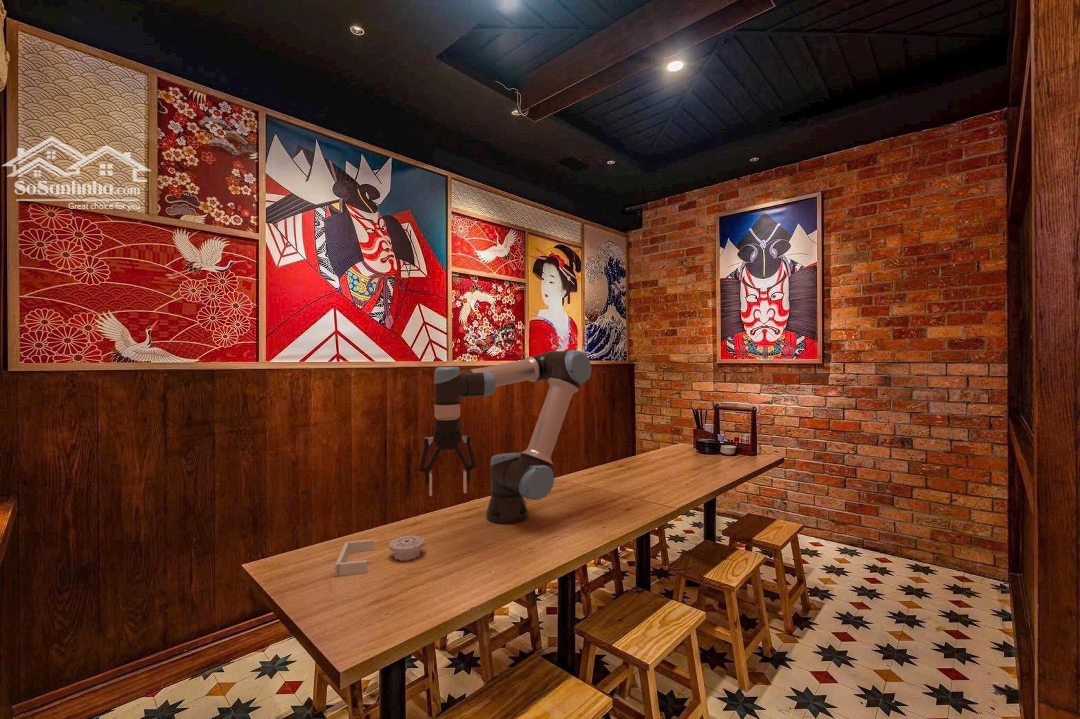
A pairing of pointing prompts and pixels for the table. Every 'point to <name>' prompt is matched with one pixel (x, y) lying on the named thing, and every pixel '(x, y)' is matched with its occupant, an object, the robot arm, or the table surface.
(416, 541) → the mechanical component
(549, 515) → the table surface
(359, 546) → the u-shaped bracket
